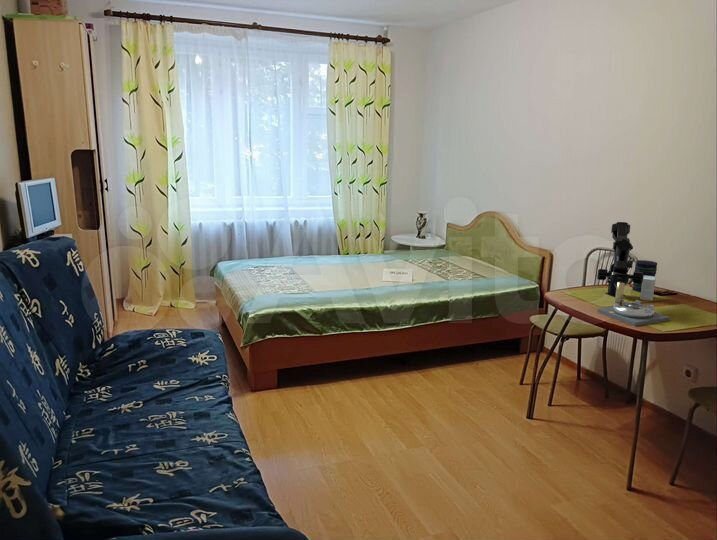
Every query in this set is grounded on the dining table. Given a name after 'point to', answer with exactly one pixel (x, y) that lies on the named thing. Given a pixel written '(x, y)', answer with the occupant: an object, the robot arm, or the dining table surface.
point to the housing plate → (634, 321)
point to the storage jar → (644, 271)
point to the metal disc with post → (631, 305)
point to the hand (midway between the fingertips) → (618, 291)
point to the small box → (648, 288)
